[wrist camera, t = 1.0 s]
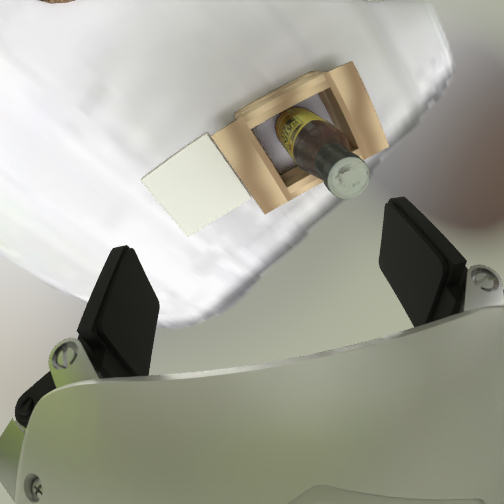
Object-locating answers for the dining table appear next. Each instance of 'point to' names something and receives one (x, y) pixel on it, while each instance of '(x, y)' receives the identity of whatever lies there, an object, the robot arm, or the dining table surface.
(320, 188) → the dining table surface
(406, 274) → the robot arm
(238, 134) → the carton
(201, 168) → the mat
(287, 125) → the sauce bottle
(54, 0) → the trivet
